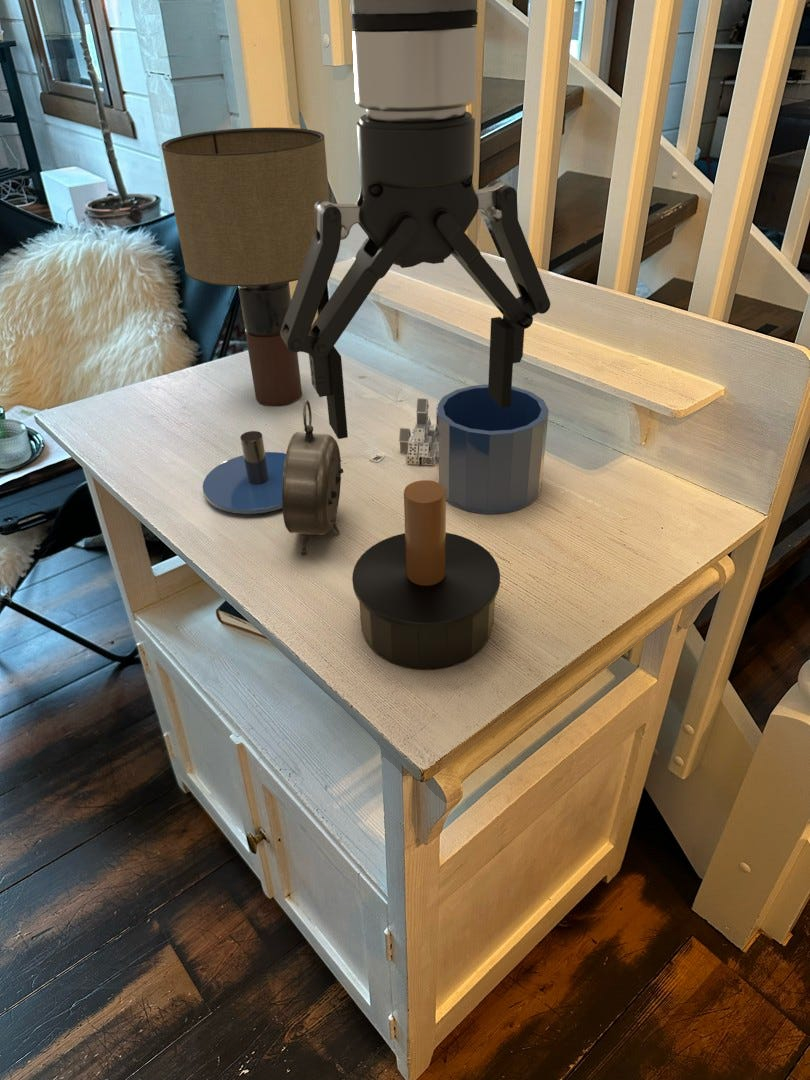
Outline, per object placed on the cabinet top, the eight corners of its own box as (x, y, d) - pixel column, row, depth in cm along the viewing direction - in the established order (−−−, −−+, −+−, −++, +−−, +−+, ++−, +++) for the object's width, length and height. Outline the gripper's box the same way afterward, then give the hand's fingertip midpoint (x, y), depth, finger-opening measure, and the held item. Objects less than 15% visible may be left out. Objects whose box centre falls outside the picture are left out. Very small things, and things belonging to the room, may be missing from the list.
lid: (528, 576, 71) (536, 484, 65) (436, 657, 63) (436, 559, 57) (417, 524, 78) (415, 437, 72) (322, 590, 70) (311, 498, 64)
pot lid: (337, 482, 95) (332, 431, 90) (252, 531, 87) (242, 478, 82) (265, 449, 102) (258, 400, 98) (182, 492, 94) (169, 440, 90)
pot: (560, 481, 93) (568, 403, 87) (501, 526, 86) (505, 445, 80) (477, 449, 100) (480, 375, 94) (416, 489, 93) (414, 412, 87)
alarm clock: (306, 505, 91) (291, 378, 81) (351, 506, 90) (340, 379, 81) (286, 561, 82) (266, 426, 72) (335, 562, 81) (321, 427, 72)
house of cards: (383, 429, 106) (380, 378, 101) (445, 433, 104) (445, 382, 100) (368, 462, 98) (365, 408, 94) (434, 467, 97) (434, 412, 93)
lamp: (306, 359, 127) (280, 122, 106) (369, 401, 113) (353, 139, 92) (191, 390, 118) (139, 139, 97) (245, 440, 104) (196, 160, 84)
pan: (517, 616, 74) (521, 572, 70) (436, 691, 66) (436, 645, 63) (418, 566, 81) (418, 523, 77) (334, 629, 73) (329, 585, 70)
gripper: (562, 91, 54) (540, 372, 66) (208, 118, 47) (256, 422, 60) (620, 102, 48) (583, 407, 60) (225, 135, 42) (275, 467, 54)
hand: (421, 415), depth 60 cm, fingers open, 13 cm apart
